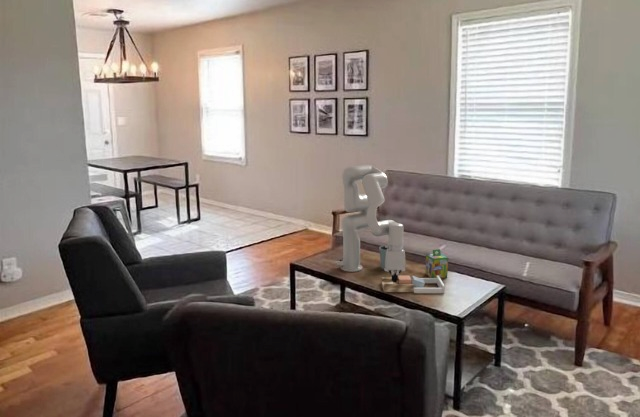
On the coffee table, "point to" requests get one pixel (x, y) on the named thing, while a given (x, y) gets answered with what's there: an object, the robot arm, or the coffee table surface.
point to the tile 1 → (404, 280)
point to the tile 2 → (417, 282)
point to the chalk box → (436, 265)
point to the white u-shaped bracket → (431, 290)
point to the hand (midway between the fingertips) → (394, 281)
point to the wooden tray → (395, 286)
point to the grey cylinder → (382, 256)
